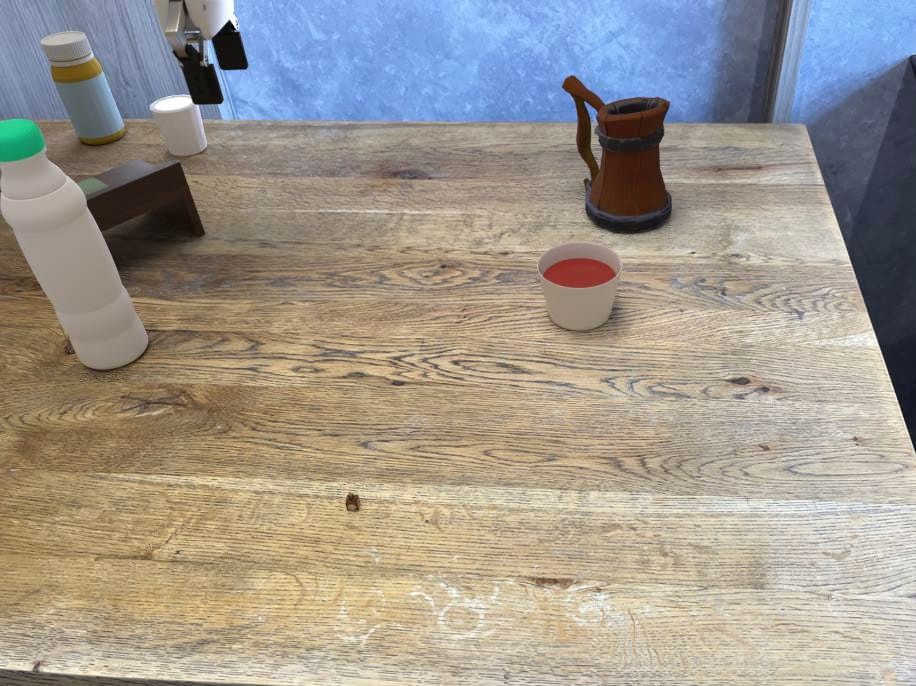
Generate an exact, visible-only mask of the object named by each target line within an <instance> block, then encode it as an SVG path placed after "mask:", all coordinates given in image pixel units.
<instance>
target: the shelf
mask: <svg viewBox="0 0 916 686" xmlns="http://www.w3.org/2000/svg"><path fill="white" fill-rule="evenodd" d="M75 183H76V184H77V185H78V186H79V187H80V188H81V190H82V191H83V193H84V195H85V198H86V202H87V208H88V209H89V211H90V213H91V214H92V216H93V218H94V220H95V222H96V224H97V225H98V227H99V229H100V232H101V233H104V232H106V231H108V230H110V229H112V228H115V227H117V226H119V225H121V224H124V223H127V222H129V221H131V220H133V219H136V218H138V217H140V216H142V215H144V214H147V213H149V212H152V213H154V214H155V215H157V216H158V217H161V218H162V219H164V220H166V221H167V222H169V223H171V224H173V225H174V226H177V227H178V228H180V229H182V230H183V231H185V232H187V233H189V234H191V235H192V236H194V237H195V238H200V237H202V236H204V235H206V232H205V228H204V227H203V223H202V220H201V218H200V217H201V216H200V215H199V211H198V209H197V206H196V203H195V201H194V197H193V194H192V191H191V188H190V185H189V182H188V180H187V178H186V175H185V172H184V168H183V166H182V163H181V161H179V160H177V159H172V160H170V161H167V162H165V163H163V164H160V165H157V166H153V165H152V164H149V163H148V162H145V161H143V160H142V159H140V158H137V159H134V160H131V161H129V162H126V163H124V164H121V165H118V166H116V167H114V168H111V169H108V170H105V171H104V172H101V173H98V174H96V175H93V176H91V177H88V178H85V179H83V180H81V181H78V182H75Z"/></svg>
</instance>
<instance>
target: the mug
mask: <svg viewBox="0 0 916 686" xmlns="http://www.w3.org/2000/svg"><path fill="white" fill-rule="evenodd" d="M561 88H562V89H563V91H565V92H566V93H568V95H570V96H571V98H572V99H573V101H574V106H575V109H576V120H577V124H576V125H577V126H576V137H575V142H576V147H577V152H578V153H579V157H580V158H581V159H582V160H583V161H584V163H585V164H586V166H587V167H588V169H589V174H590V179H589V178H587V177H585V178H584V179H583V180H582V181H583V185H584V188H585V190H586V192H585V199H584V200H585V201H584V211H585V213H586V215H587V216H588V217H589V218H590V219H591V220H592V221H594V222H595V224H598V226H601V227H602V228H605V229H608V230H609V231H611V232H613V233H641V232H645V231H650V230H654V229H657V228H659V227H660V226H661V225H662V224H663V223H665V221H667V220H668V219H669V218H670V217H671V214H672V210H673V198H672V195H671V193H670V192H669V191H668V190H667V188H666V183H665V181H664V177H663V172H662V170H661V155H660V153H661V152H660V143H661V142H662V140H663V138H664V136H665V126H664V121H665V119H666V116H667V114H668V112H669V110H670V107H671V102H670V101H669V100H667V99H665V98H663V97H660V96H654V97H645V96H637V97H636V96H635V97H630V98H622V99H619V100H618V99H617V100H614V101H611V102H609V103H605V102H604V101H603V100H602V99H601V97H600V96H599V95H597V94H596V93H595V92H593V91H592V90H591V89H589V88H587V87H586V85H584V83H583V82H582V81H581V80H580V79H579V78H578V77H577V76H576V75H573V74H570V75H568V76H567V77H565V78H564V80H563V83H562V85H561ZM586 104H587V105H589V106H590V107H591V108H593V109H594V110H595V111H596V113H597V114H596V116H595V119H596V122H597V125H595V127H594V131H593V133H594V135H596V136H597V137H598V140H597V141H598V144H599V145H600V147H601V157H600V165H598V162H597V160H596V158H595V156H594V154H593V151H592V147H591V145H592V119H591V116H590V113H589V109H588V107H587V106H586ZM599 166H600V167H599Z"/></svg>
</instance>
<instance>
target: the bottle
mask: <svg viewBox="0 0 916 686" xmlns="http://www.w3.org/2000/svg"><path fill="white" fill-rule="evenodd" d="M40 45H41V47H42V50H43V52H44V54H45V57H46V58H47V61H48V63H49V65H50V75H51V78H52V81H53V83H54V85H55V88H56V90H57V93H58V94H59V98H60V100H61V102H62V105H63V106H64V109H65V112H66V113H67V116H68V118H69V120H70V123H71V125H72V127H73V129H74V132H75V134H76V136H77V138H78V140H79V141H81V142H82V143H84V144H86V145H90V146H100V145H106V144H109V143H113V142H115V141H117V140H119V139H121V138H122V137H123V136H124V133H125V131H126V127H125V124H124V122H123V119H122V116H121V113H120V111H119V108H118V106H117V104H116V101H115V98H114V96H113V93H112V90H111V88H110V85H109V82H108V80H107V78H106V74H105V73H104V70H103V68H102V65H101V64H100V62H99V61H98V60H97V58H95V55H94V52H93V50H92V47H91V44H90V41H89V40H88V37H87V35H86V33H84V32H83V31H78V30H69V31H61V32H57V33H52V34H49V35H47V36H45V37H43V38H42V39H41V40H40Z"/></svg>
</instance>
